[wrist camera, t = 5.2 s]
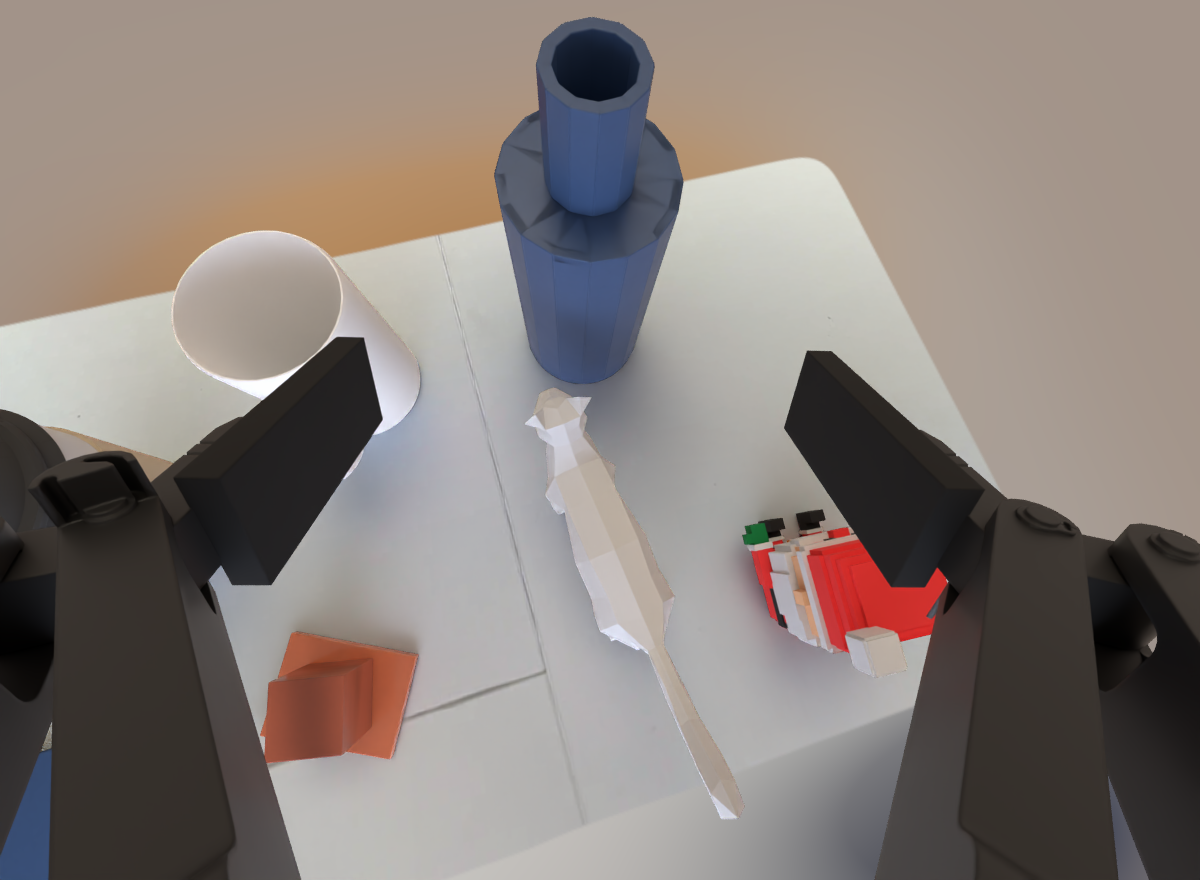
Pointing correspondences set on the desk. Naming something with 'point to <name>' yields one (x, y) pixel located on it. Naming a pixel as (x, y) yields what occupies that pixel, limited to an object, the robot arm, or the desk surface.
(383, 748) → the orange flat plate
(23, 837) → the blue mat
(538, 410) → the cat figurine
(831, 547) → the figurine
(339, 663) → the terracotta block
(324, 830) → the desk surface
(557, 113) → the blue bottle
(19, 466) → the coffee cup
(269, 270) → the mug
